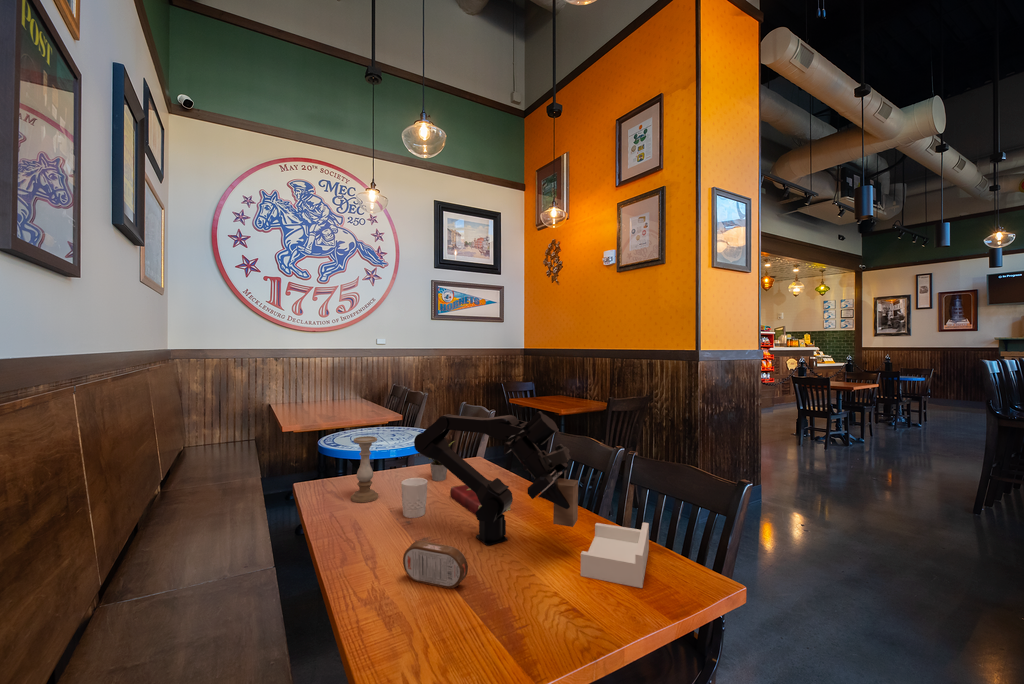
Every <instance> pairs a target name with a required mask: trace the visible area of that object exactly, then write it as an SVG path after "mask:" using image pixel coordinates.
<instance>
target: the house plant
mask: <svg viewBox="0 0 1024 684" xmlns="http://www.w3.org/2000/svg"><path fill="white" fill-rule="evenodd" d="M454 442H456V440H453V441H452V442H450V443H448V445H449V447H450V448H451V445H452V444H453V443H454ZM428 460H432V461H431V462H430V463H429V464H430V471H431V473H430V474H431V478H432V479H431V480H432V481H435V482H442V481H445V480H446V479H447V474H448V469H447V468H446V467H444V466H443V465H442V464H441V463H440V462H439V461H437V460H434V459H431V458H428Z"/></svg>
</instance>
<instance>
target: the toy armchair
mask: <svg viewBox="0 0 1024 684" xmlns="http://www.w3.org/2000/svg"><path fill="white" fill-rule="evenodd" d="M649 530H650V523H649V522H642V523H641V529H637V528H633V527H632V528H631V527H625V526H619V525H613V524H605V523H600V522H596V523H595V524H594V538H593V539H592V542H591V544H590V547H589V548H588V550H587V551H584V550H582V551H581V553H580V577H584V578H588V579H589V578H590V579H594V580H600V581H605V582H609V583H614V584H619V585H623V586H629V587H635V588H640V589H643V588H644V587H643V586H644V581H645V574H646V567H647V563H648V562H647V561H648V556H649V552H650V551H649V547H650V544H649V539H650V538H649V536H650V534H649V533H650V531H649Z"/></svg>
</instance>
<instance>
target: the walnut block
mask: <svg viewBox="0 0 1024 684" xmlns="http://www.w3.org/2000/svg"><path fill="white" fill-rule="evenodd" d="M558 488H559V490H560V491H561V493H562V494H563V496H564V497H565V499H566V500H567V502H568V504H569V505H570V507H569V508H568V509H565V508H563V507H561V506H559V505H557V504H555V503H553V512H552V513H553V522H552V523H553V525H558V526H564V527H565V526H566V527H571V528H574V526H575V524H576V523H577V522H578V518H579V516H578V515H579V514H578V511H579V510H578V509H579V508H578V507H579V505H578V504H579V480H578V479H577V480H576V479H568V478H566V479H562V478H559V479H558Z"/></svg>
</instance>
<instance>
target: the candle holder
mask: <svg viewBox="0 0 1024 684" xmlns="http://www.w3.org/2000/svg"><path fill="white" fill-rule="evenodd" d="M377 441H378V437H377V436H372V435H371V436H370V435H365V436H358V437H355V438H354V439H353V443H354V444H358V447H359V448H360V452H359V456H360V465H359V468H358V469H357V472H356V479H357V481H358V482H357V484H356V485H357V486H358V488H359V489H358V490H356V491H354V493H353V494H351V496H350V501H352V502H354V503H361V504H362V503H368V502H372V501H373V502H374V501H375V500H378V498H379V493H378V492H376V490H374V489H372V488H371V486H372V484H373V481H371V480H372V478H374V471H373V468H372V466H371V463H370V456H371V455H372V452H371V450H370V448H371V447H372V445H373V443H375V442H377Z"/></svg>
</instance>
